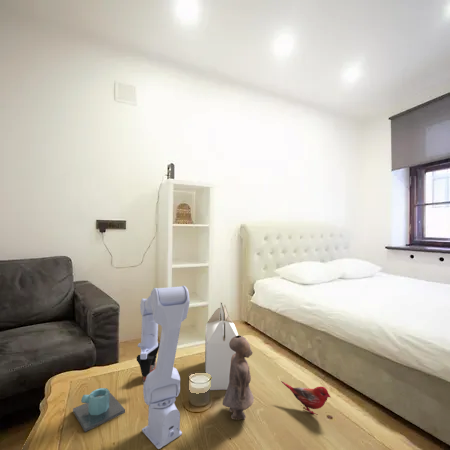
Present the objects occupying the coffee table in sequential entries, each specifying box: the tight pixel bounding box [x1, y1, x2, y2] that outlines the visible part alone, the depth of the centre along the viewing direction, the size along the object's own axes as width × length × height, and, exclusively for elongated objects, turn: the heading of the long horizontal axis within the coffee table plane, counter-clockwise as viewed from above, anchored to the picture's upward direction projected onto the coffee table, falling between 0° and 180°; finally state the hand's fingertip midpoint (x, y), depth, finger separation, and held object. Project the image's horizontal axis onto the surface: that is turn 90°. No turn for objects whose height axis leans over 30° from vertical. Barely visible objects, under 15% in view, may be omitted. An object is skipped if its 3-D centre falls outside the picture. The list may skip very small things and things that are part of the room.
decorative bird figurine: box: [280, 380, 332, 416], centre depth 87 cm, size 3×18×10 cm, turn 49°
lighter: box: [142, 355, 158, 384], centre depth 105 cm, size 8×3×10 cm, turn 168°
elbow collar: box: [81, 387, 111, 415], centre depth 84 cm, size 8×6×5 cm
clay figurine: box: [222, 334, 255, 421], centre depth 85 cm, size 13×10×25 cm
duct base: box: [72, 392, 126, 433], centre depth 84 cm, size 12×12×5 cm
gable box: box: [204, 302, 239, 391], centre depth 109 cm, size 22×13×28 cm, turn 5°
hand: (148, 370), depth 93 cm, fingers open, 7 cm apart
